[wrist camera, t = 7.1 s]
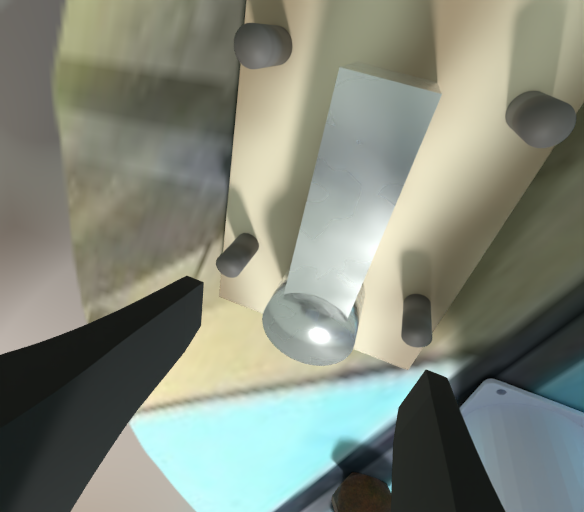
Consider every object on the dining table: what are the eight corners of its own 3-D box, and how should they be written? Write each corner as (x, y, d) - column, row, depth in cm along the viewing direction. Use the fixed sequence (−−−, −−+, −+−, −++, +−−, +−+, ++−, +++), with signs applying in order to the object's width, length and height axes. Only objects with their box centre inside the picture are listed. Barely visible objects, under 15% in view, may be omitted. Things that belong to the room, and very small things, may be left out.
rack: (666, -53, 10) (765, -91, 7) (408, 355, 22) (406, 405, 19) (272, -125, 12) (224, -178, 9) (227, 286, 24) (199, 321, 21)
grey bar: (458, 87, 13) (469, 101, 10) (350, 332, 21) (339, 377, 18) (337, 56, 13) (315, 60, 11) (278, 304, 21) (256, 344, 19)
